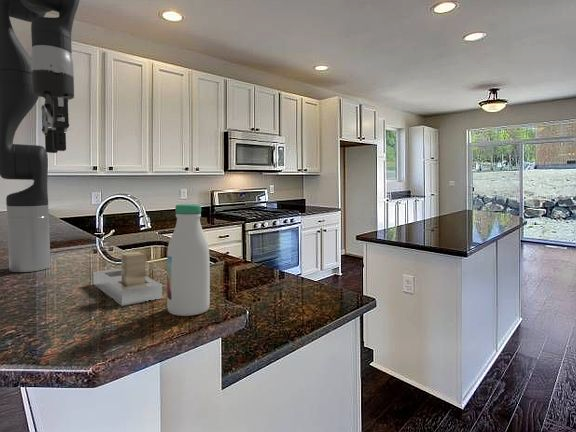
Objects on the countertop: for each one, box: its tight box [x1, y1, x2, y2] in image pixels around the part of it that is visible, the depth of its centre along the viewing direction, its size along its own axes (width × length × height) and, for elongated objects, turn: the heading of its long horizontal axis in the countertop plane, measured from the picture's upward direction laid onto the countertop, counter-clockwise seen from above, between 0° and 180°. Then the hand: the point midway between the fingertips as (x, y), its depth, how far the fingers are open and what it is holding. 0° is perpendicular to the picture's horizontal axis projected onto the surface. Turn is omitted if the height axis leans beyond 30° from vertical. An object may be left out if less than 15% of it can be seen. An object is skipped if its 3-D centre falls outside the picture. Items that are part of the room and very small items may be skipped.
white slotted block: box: [93, 267, 163, 307], centre depth 83 cm, size 20×8×3 cm, turn 41°
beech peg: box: [120, 251, 146, 287], centre depth 79 cm, size 4×4×9 cm
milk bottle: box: [166, 203, 211, 317], centre depth 70 cm, size 8×8×20 cm
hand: (55, 151), depth 80 cm, fingers open, 8 cm apart
